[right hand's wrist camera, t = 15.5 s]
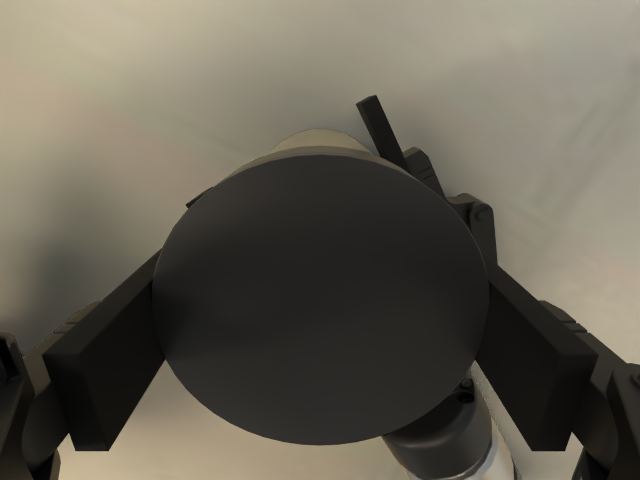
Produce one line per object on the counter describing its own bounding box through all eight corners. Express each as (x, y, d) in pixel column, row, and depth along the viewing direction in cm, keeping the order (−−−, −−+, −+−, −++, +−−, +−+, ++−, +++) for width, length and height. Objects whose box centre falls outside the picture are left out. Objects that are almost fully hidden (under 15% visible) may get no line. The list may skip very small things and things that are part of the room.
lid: (509, 311, 12) (547, 352, 10) (297, 431, 15) (294, 485, 13) (354, 72, 10) (364, 63, 8) (120, 264, 12) (77, 297, 10)
